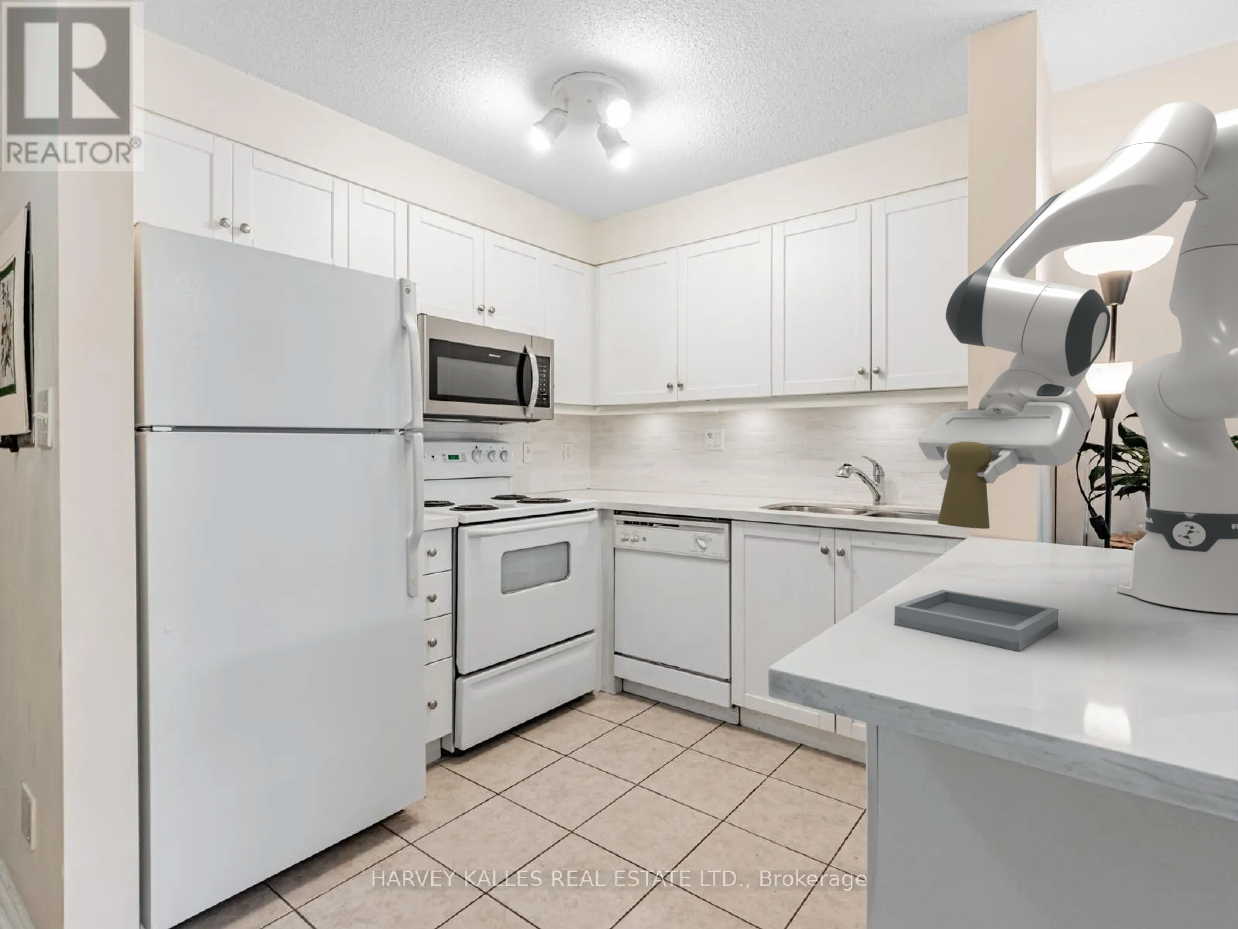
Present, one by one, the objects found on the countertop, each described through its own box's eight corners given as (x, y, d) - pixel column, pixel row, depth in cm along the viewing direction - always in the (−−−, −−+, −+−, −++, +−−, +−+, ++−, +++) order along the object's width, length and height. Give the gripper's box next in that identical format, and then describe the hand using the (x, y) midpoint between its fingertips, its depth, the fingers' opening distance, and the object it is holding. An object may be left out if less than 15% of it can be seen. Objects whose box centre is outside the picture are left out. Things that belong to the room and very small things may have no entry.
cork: (996, 530, 82) (1003, 442, 81) (945, 525, 83) (951, 440, 83) (980, 525, 88) (986, 443, 87) (932, 521, 89) (938, 441, 89)
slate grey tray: (941, 606, 98) (942, 589, 97) (1058, 627, 86) (1058, 609, 86) (894, 624, 88) (894, 606, 88) (1019, 651, 76) (1019, 630, 76)
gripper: (940, 394, 97) (889, 457, 93) (1088, 386, 79) (1032, 464, 75) (958, 426, 99) (909, 488, 95) (1106, 425, 81) (1052, 503, 77)
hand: (964, 478), depth 85 cm, fingers closed on cork, 4 cm apart
